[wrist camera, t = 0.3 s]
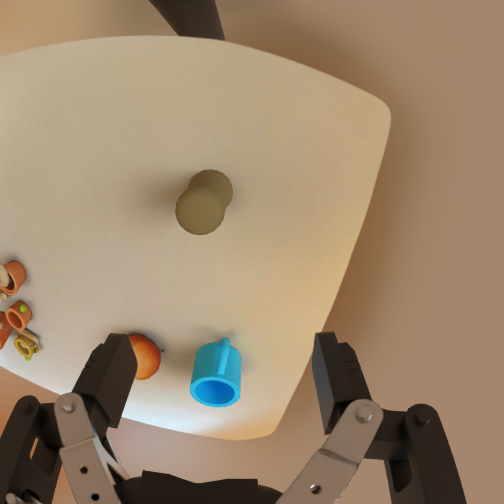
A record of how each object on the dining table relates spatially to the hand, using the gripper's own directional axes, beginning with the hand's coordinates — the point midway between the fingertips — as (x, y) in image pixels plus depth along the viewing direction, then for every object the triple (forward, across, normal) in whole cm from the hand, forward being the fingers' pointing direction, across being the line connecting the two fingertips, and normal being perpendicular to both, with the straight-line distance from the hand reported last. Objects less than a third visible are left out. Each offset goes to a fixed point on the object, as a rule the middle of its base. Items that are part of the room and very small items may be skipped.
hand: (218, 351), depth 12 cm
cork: (+30, +4, +1) cm, 30 cm away
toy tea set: (+29, +51, +19) cm, 61 cm away
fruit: (+29, +19, +27) cm, 44 cm away
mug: (+29, +5, +29) cm, 41 cm away
